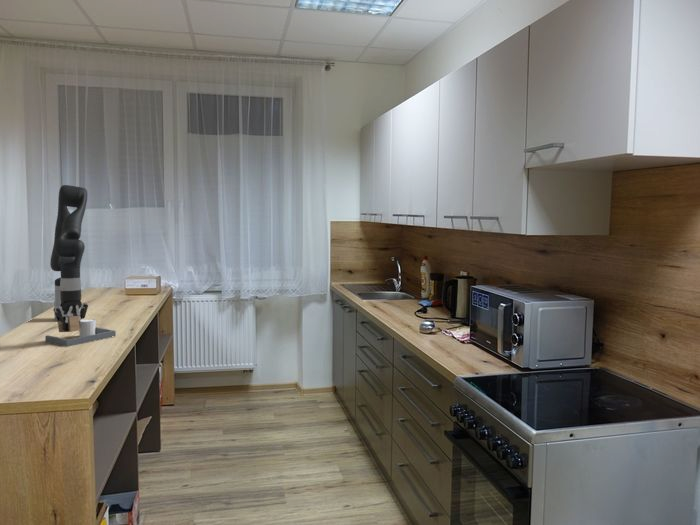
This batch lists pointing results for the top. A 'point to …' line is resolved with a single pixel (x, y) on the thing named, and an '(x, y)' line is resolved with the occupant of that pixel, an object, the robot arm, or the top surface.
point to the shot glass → (87, 327)
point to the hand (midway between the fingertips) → (71, 330)
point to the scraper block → (70, 324)
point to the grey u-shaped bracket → (74, 341)
